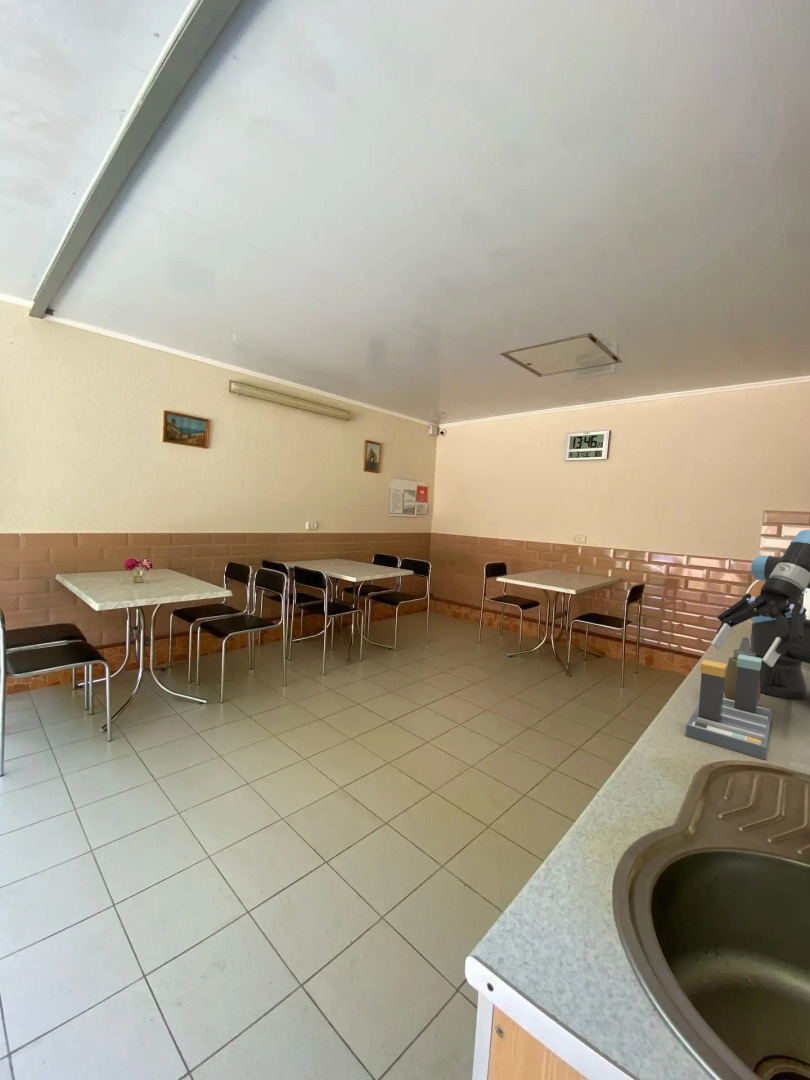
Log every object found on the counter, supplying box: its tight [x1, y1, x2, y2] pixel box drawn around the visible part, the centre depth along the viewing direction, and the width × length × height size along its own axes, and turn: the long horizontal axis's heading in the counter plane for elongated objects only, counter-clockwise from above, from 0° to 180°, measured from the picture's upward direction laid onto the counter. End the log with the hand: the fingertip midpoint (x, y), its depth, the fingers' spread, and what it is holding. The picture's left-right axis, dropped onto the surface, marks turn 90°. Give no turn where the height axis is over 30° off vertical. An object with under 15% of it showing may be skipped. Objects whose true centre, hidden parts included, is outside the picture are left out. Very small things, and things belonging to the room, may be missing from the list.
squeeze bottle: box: [723, 637, 762, 704], centre depth 119 cm, size 8×8×18 cm
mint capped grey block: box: [734, 654, 762, 714], centre depth 109 cm, size 4×4×13 cm
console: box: [685, 697, 773, 761], centre depth 107 cm, size 25×14×4 cm, turn 139°
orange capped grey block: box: [698, 659, 728, 723], centre depth 104 cm, size 4×4×13 cm
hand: (739, 654), depth 112 cm, fingers open, 13 cm apart
